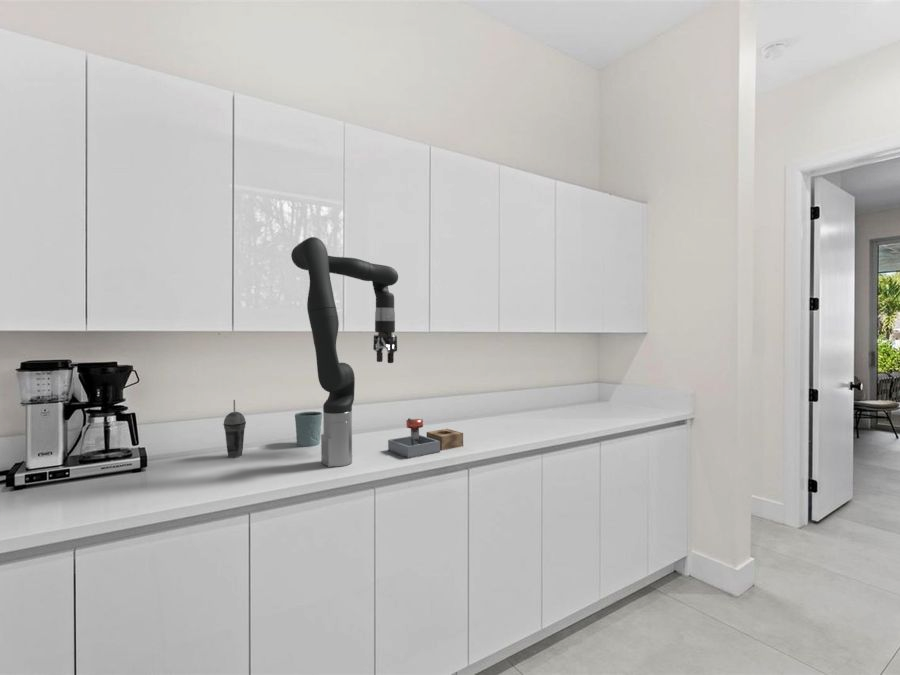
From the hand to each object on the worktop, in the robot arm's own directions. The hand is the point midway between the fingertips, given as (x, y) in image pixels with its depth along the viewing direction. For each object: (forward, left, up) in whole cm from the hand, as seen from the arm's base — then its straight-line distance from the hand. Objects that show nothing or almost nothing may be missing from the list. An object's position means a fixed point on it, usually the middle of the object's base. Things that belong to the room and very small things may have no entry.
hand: (384, 362), depth 179 cm
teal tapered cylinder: (-22, +21, -32) cm, 44 cm away
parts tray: (+4, -14, -32) cm, 35 cm away
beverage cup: (-49, +20, -32) cm, 62 cm away
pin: (+5, -14, -31) cm, 34 cm away
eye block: (+18, -14, -32) cm, 39 cm away
